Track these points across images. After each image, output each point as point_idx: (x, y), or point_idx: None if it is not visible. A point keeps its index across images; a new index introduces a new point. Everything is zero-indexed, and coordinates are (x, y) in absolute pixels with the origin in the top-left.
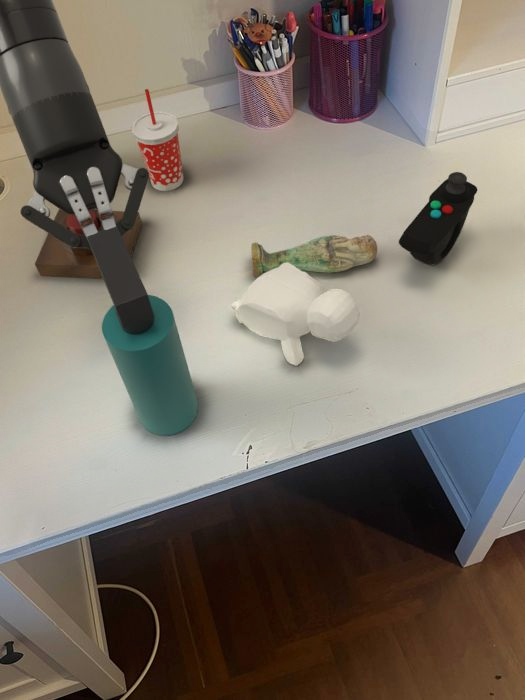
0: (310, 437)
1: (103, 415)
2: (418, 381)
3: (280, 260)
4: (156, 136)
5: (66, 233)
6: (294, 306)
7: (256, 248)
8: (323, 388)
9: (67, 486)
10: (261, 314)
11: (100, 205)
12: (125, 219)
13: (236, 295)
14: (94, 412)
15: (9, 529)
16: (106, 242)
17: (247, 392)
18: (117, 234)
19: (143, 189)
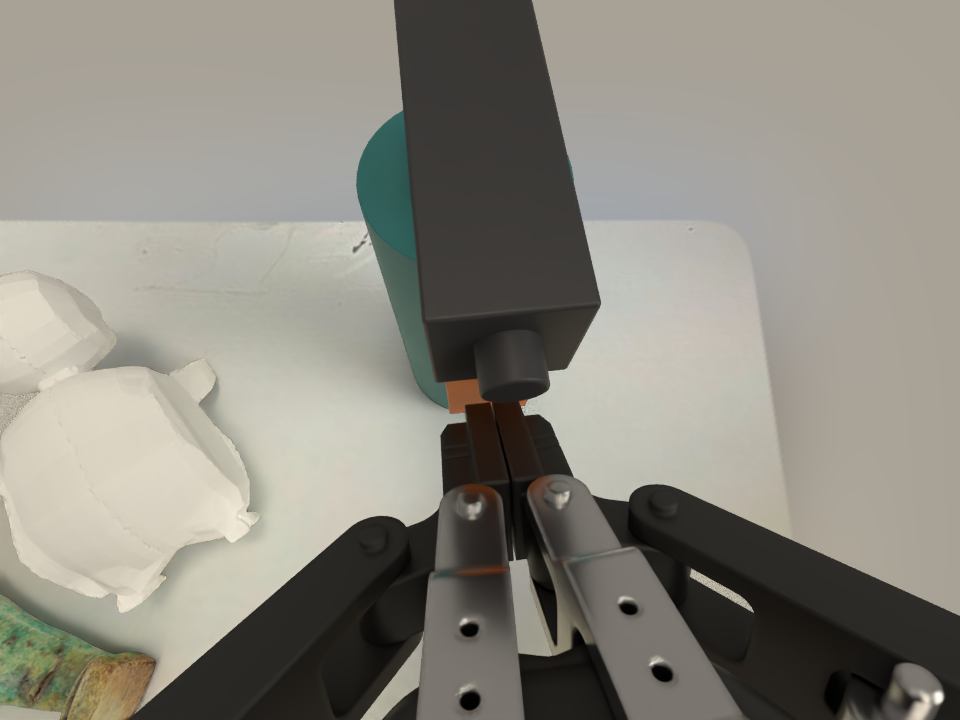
0: (258, 235)
1: (587, 385)
2: (32, 269)
3: (53, 657)
4: None
5: (708, 534)
6: (93, 376)
7: (77, 711)
8: (188, 308)
9: (655, 277)
10: (186, 421)
11: (489, 614)
12: (378, 555)
13: (230, 609)
14: (603, 397)
15: (742, 242)
16: (499, 222)
17: (318, 344)
18: (432, 262)
19: (162, 701)
